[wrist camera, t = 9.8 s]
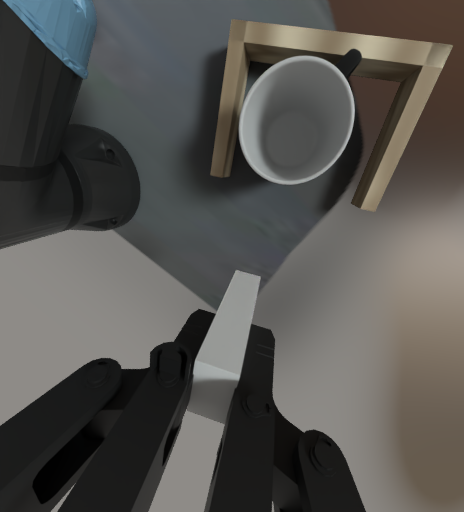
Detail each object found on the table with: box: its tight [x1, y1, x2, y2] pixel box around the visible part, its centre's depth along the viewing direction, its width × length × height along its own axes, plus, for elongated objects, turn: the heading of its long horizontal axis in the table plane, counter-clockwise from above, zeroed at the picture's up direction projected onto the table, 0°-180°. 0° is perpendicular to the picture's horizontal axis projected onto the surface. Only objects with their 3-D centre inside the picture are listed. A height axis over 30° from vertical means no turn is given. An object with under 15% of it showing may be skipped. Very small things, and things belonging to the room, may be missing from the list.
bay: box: [210, 19, 453, 212], centre depth 24 cm, size 19×14×4 cm
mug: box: [239, 49, 362, 185], centre depth 21 cm, size 12×9×10 cm
